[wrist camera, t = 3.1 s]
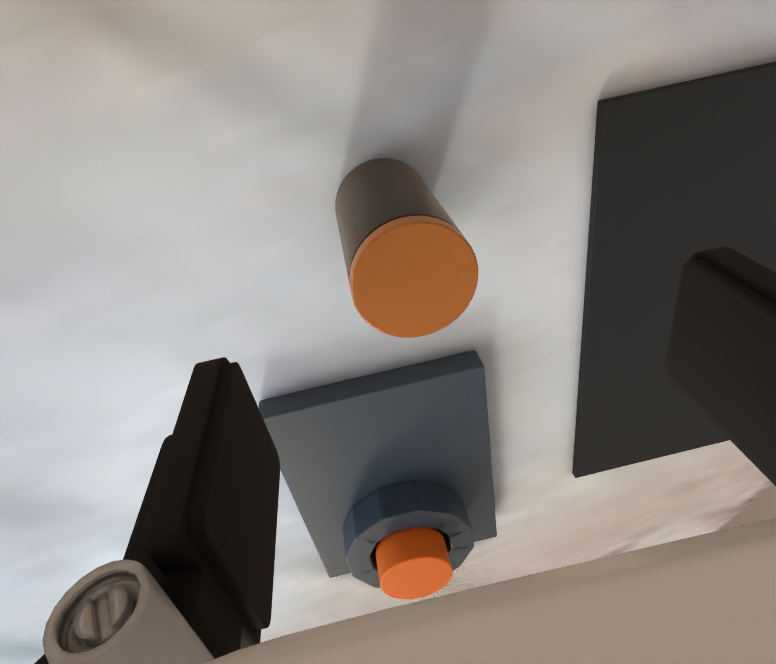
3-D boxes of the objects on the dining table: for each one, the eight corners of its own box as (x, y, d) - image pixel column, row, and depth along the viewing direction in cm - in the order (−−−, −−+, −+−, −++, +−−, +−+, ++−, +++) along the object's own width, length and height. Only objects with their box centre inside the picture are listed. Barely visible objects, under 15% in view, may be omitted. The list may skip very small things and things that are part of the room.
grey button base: (258, 400, 22) (254, 451, 19) (475, 349, 22) (498, 392, 20) (328, 559, 29) (331, 610, 27) (490, 519, 30) (508, 565, 27)
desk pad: (597, 100, 17) (603, 102, 17) (923, 28, 17) (934, 29, 17) (571, 472, 28) (575, 478, 28) (769, 424, 29) (774, 429, 28)
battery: (325, 169, 17) (337, 239, 12) (421, 148, 17) (474, 208, 12) (346, 258, 19) (365, 350, 14) (432, 238, 19) (482, 322, 14)
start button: (369, 535, 24) (373, 568, 23) (440, 517, 24) (449, 550, 23) (382, 573, 26) (387, 606, 25) (447, 557, 26) (456, 589, 25)
